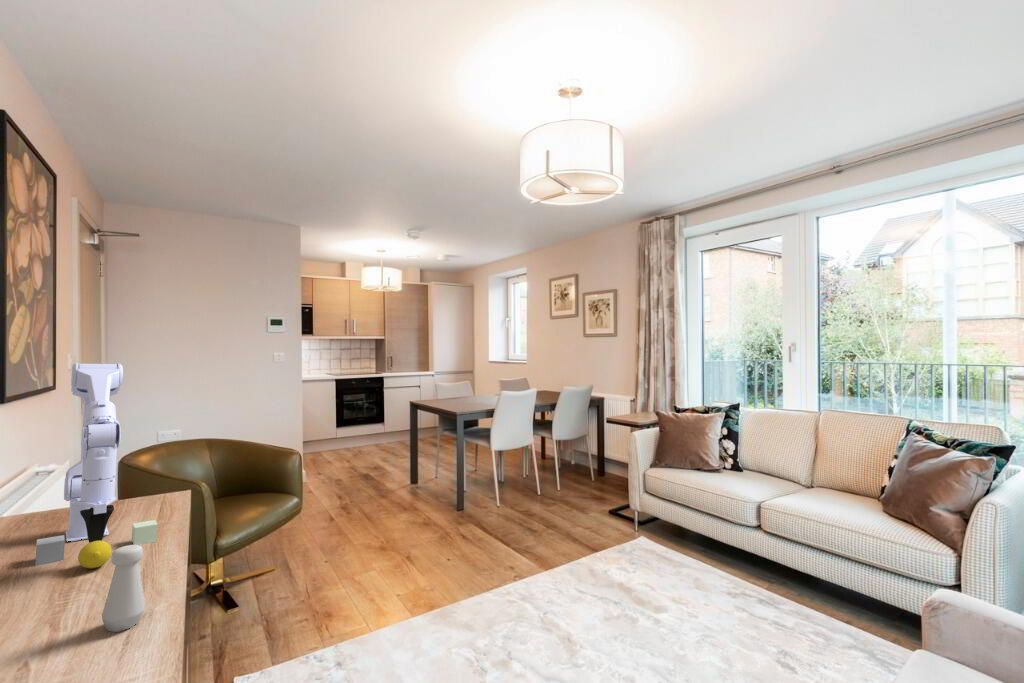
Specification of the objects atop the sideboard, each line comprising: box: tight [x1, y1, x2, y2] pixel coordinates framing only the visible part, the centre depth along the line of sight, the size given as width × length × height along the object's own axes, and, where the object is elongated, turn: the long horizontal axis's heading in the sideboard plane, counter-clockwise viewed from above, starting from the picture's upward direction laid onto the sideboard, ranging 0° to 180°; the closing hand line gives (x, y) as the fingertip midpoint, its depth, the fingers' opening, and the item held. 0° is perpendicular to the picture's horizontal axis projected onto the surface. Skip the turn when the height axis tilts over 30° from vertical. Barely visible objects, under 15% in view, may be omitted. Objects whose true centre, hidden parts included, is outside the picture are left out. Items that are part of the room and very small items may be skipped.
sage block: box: [131, 519, 159, 546], centre depth 120 cm, size 4×4×4 cm
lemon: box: [77, 540, 113, 569], centre depth 105 cm, size 6×6×8 cm
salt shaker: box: [101, 544, 146, 633], centre depth 82 cm, size 6×6×13 cm
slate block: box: [35, 534, 66, 567], centre depth 109 cm, size 4×4×4 cm
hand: (95, 541), depth 106 cm, fingers closed, pressing on lemon
